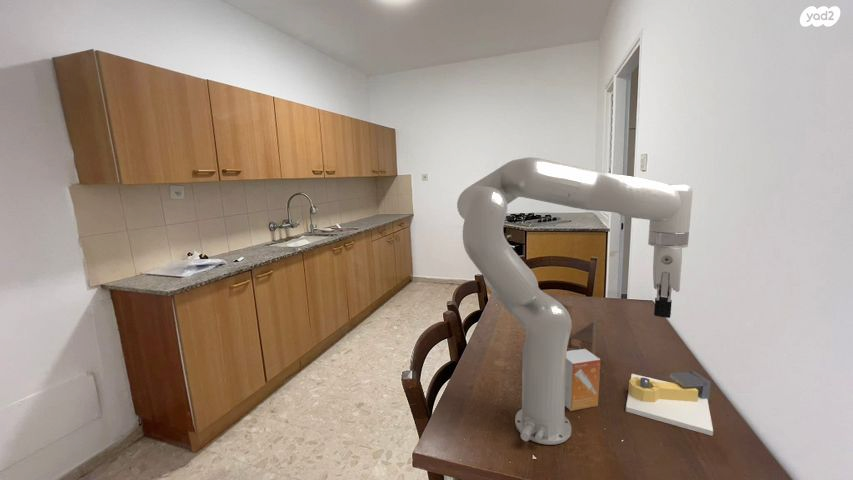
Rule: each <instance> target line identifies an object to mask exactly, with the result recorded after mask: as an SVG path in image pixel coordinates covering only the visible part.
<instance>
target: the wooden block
mask: <svg viewBox="0 0 853 480" xmlns="http://www.w3.org/2000/svg"><path fill="white" fill-rule="evenodd" d="M560 303H561V304H562V305H563V306H564V307H565V308H566V310H567V311H568V313H569V315H570V317H571V322H572V323H573V312H574V311H573V309H574V305H573V303H572V302H570V301H562V302H560ZM597 323H598V322H597V318H595V319H594V320H592V321H590V322H588V323H587V324H586V325H584V326H583V327H582V328H579V329H578V330H577V331H575V332H574V333H573V327H572V328H571V333H570V337H569V341H568V346H567V351H571V350H579V349H586V350H588V351H589V352H591V353H592V354H593V355H595V356H596V339H597ZM573 340H576V341H580V346H578V345H575V344H572V341H573Z"/></svg>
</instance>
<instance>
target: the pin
mask: <svg viewBox="0 0 853 480" xmlns="http://www.w3.org/2000/svg"><path fill="white" fill-rule="evenodd" d="M649 384H650V380H649V379H647V378H641V380H640V387H642V388H649Z"/></svg>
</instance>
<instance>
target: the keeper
mask: <svg viewBox="0 0 853 480" xmlns="http://www.w3.org/2000/svg"><path fill="white" fill-rule="evenodd" d="M669 378H670V379H672V380H673V381H674V382H675V383H679V384H680V385H682V386H683V387H695V388H696V389H697V390H698V397H700V398H701V399H707V400H708V404H709V403H710V395H711V385H712V382H711V381H710V380H709V379H707V378H706V377H704V376H703V375H701V373H698V372H697V371H684V372H670V373H669Z"/></svg>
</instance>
